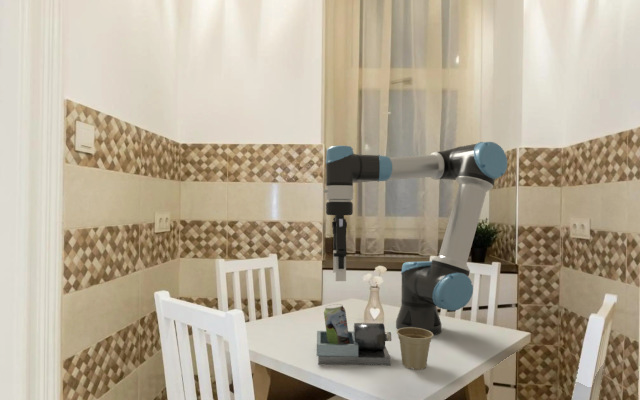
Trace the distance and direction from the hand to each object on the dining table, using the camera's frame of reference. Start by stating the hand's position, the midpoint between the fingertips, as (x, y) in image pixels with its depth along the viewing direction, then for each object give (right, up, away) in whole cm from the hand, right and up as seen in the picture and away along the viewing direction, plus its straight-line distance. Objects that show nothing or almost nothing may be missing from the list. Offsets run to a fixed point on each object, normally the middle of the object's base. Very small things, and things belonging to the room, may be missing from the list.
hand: (339, 276), depth 116 cm
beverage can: (-1, -20, -1) cm, 20 cm away
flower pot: (+19, -22, -8) cm, 31 cm away
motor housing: (+4, -22, -2) cm, 22 cm away
